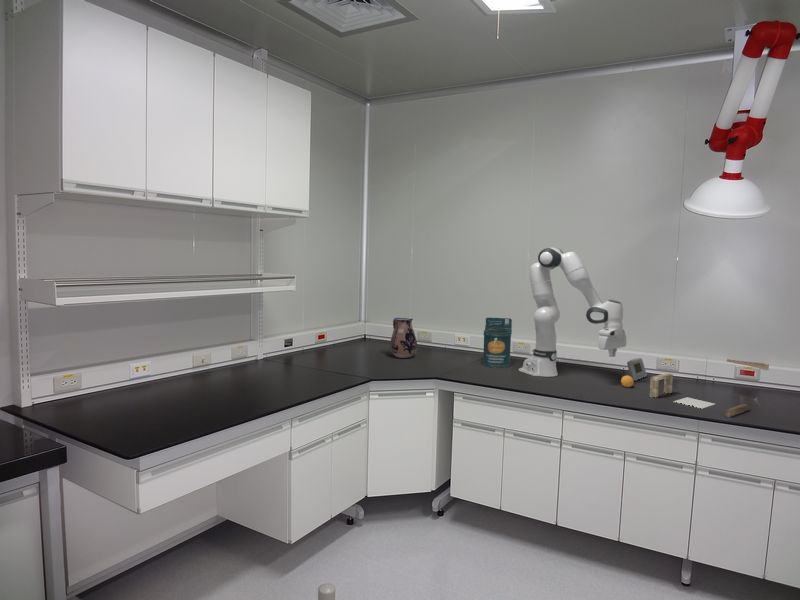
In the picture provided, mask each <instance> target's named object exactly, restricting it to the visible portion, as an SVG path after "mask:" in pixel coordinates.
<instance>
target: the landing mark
mask: <svg viewBox="0 0 800 600" xmlns="http://www.w3.org/2000/svg"><path fill="white" fill-rule="evenodd" d="M672 402H673V403H676V402H677V403H676V404H680V403H682V404H681V405H684V404H685V405H684V406H688V405H690V406H689V407H692V405H693V406H694V408H696V407H697V409H700V408H701V409H700V410H702V409H706V408H710V407H712V406H715V405H716V403H714V402H709V401H705V400H700V399H696V398H692V397H687V396H686V397H683V398H681V399H680V398H679V399H677V400H673V401H672Z"/></svg>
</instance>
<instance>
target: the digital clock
mask: <svg viewBox="0 0 800 600" xmlns="http://www.w3.org/2000/svg"><path fill="white" fill-rule="evenodd" d="M626 364H627V368H628V369H627V370H626V371H625V376H630V377H632V378H633V381H634V382H636V381H639V380H638V379H640V380H641V378H642V379H644V378H645V377H647V376H648V374H647V371H646V370H647V369H646V367H645V364H644V361H643V358H642V357H638V358H634V359H630V360H629V361H627V362H626ZM643 377H644V378H643Z"/></svg>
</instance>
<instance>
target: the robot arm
mask: <svg viewBox="0 0 800 600" xmlns="http://www.w3.org/2000/svg"><path fill="white" fill-rule="evenodd" d="M537 261H538V262H534V263H533V264H531V265H530V267H529V278H530V279H529V280H530V284H531V286H530V287H531V290H532V291H531V292H532V295H533V296H532V297H533V299H534V301H535V303H536V306H537V309H536V311H535V312H534V315H533V321H534V327H535V328H534V329H535V348H534V349H532V350H531V352H532V355H531V356H529V357H528V358H526V359H524V361H523V364H522V367H520V368H518V371H519V372H521V373H524V374H527V375H529V376H532V377H547V378H548V377H557V376H558V370H557V369H558V368H557V353H558V352H557V335H556V334H557V333H556V327H555V324H556V322H558V320H559V319H560V316H561V313H560V310H559V307H558V303H557V300H556V298H555V297H556V296H555V294H554V290H553V285H552V279H551V270H554V269H555V268H557V267H559V268H560V269H561V270H562V272H563V273H564V275H565V278H566V280H567V281H568V283H569V284H570V285H571V286H572V287H573V288H575V289H577V290H578V291H580V292H581V293H582V295H583V296H584V298H585V300H586V302H587V303H588V305H589V308H588V309H587V310H586V312H585V313H586V314H585V316H586V319H587V321H589V323H591V324H595V325H598V324H604V327H602V328H601V329H600V330H599V331H598V335H599V337H598V345H597V346H598V348H599V350H600V351H601V350H602V351H608V354H609V355H608V357H609V358H615V357H616V354H617V352H618V349H620V348H625V347H626V346H627V334H626V332H625V330H624V329H623V328H624V327H623V319H624V307H623V303H622V302H620V301H618V300H614V299H608V300H606V301H605V302H602V301H601V299H600V297H599V296H598V295H599V294H598V293H597V292H596V290H595V288H594V286H593V284H592V281H591V279H590V276H589V274H588V271H587V269H586V266H585V265H584V262H583V261H582V260H581V258H580V256H579V255H578V254H577V253H576V252H574V251H567V252H563V250H562V249H560V248H557V247H552V246H551V247H548V248H544V249H542V250H540V252H539V254H538V255H537Z"/></svg>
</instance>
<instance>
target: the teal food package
mask: <svg viewBox="0 0 800 600" xmlns="http://www.w3.org/2000/svg"><path fill="white" fill-rule="evenodd" d="M512 328H513V319H511V318H507V317H486V318H485V325H484V329H483V355H482V356H483V358H482V366H483V365H484V366H483V367H487V368H493V367H496V369H505V368H504V367H506V368H511V361H512V360H511V349H512V348H511V347H512V345H511V341H512V333H513V332H512Z"/></svg>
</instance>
